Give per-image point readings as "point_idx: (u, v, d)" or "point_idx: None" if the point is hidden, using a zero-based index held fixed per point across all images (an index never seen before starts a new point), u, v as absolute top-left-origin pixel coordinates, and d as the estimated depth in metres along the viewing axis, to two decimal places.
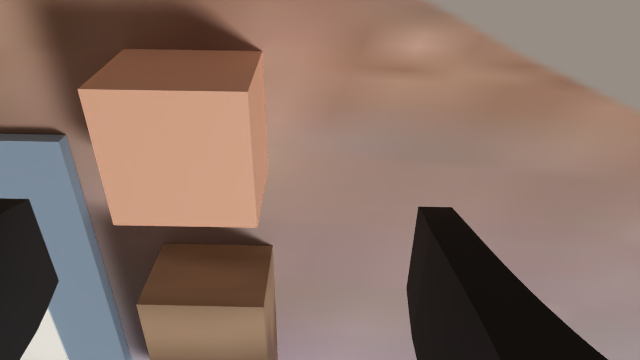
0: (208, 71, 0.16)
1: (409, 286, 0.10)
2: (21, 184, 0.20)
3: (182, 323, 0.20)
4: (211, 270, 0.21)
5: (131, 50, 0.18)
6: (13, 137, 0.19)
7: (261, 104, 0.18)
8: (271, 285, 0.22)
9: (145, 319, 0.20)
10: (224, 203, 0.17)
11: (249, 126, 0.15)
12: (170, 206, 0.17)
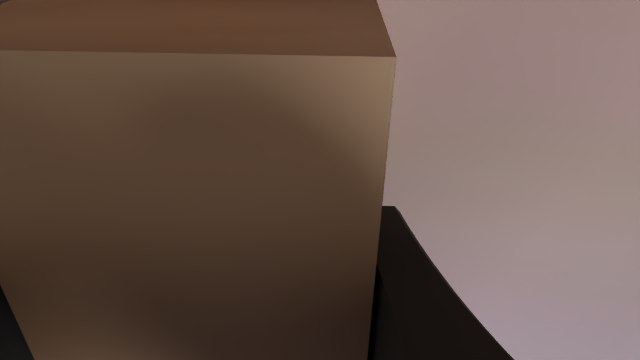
0: None
1: None
2: None
3: (84, 144, 0.05)
4: (194, 5, 0.07)
5: None
6: None
7: None
8: None
9: None
10: None
11: None
12: None
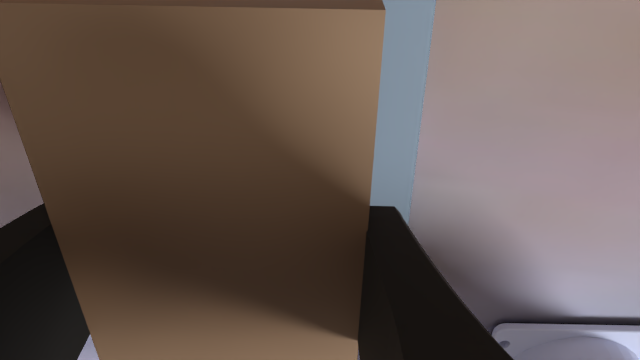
0: None
1: None
2: None
3: (125, 86, 0.07)
4: None
5: None
6: None
7: None
8: None
9: (13, 69, 0.06)
10: None
11: None
12: None
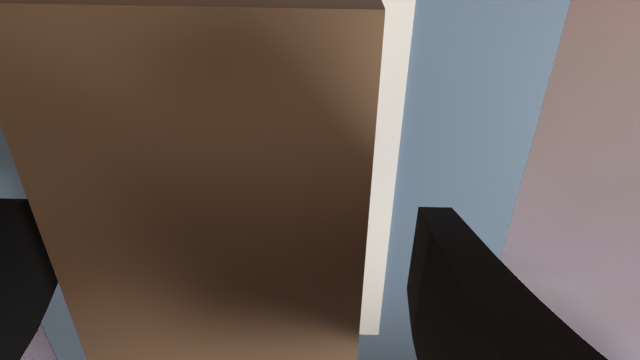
0: None
1: (409, 286, 0.10)
2: None
3: (116, 90, 0.06)
4: None
5: None
6: None
7: None
8: None
9: None
10: None
11: None
12: None
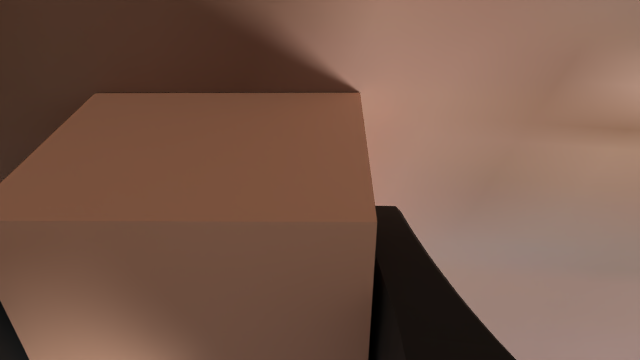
0: (266, 153, 0.07)
1: None
2: None
3: None
4: None
5: (106, 99, 0.09)
6: None
7: None
8: None
9: None
10: None
11: (371, 290, 0.06)
12: None
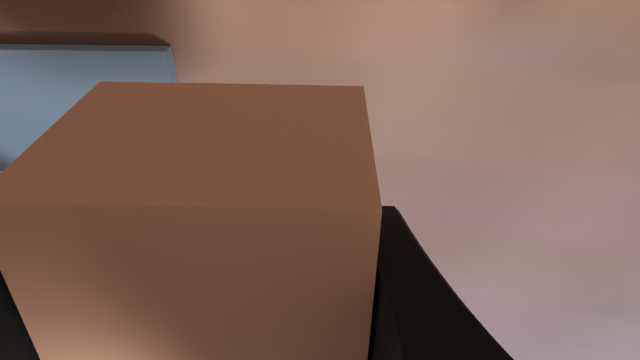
0: (272, 143, 0.07)
1: None
2: None
3: None
4: None
5: (111, 87, 0.09)
6: (108, 47, 0.16)
7: None
8: None
9: None
10: None
11: (373, 278, 0.07)
12: None
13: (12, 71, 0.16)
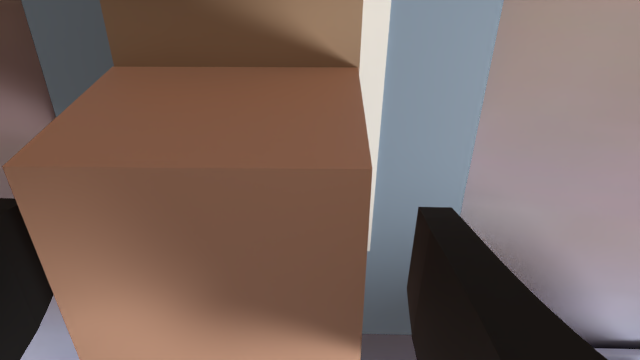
0: (273, 115, 0.08)
1: (409, 286, 0.10)
2: None
3: (188, 15, 0.09)
4: None
5: (123, 71, 0.10)
6: None
7: None
8: None
9: (111, 3, 0.09)
10: None
11: (366, 234, 0.07)
12: None
13: None
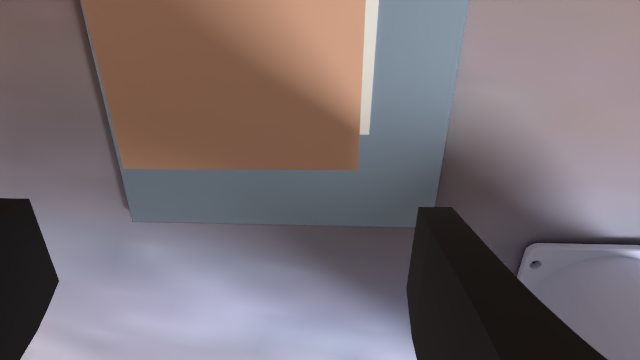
0: None
1: (409, 286, 0.10)
2: None
3: None
4: None
5: None
6: None
7: None
8: None
9: None
10: (307, 127, 0.10)
11: None
12: (217, 134, 0.10)
13: None
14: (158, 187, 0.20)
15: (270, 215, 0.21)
